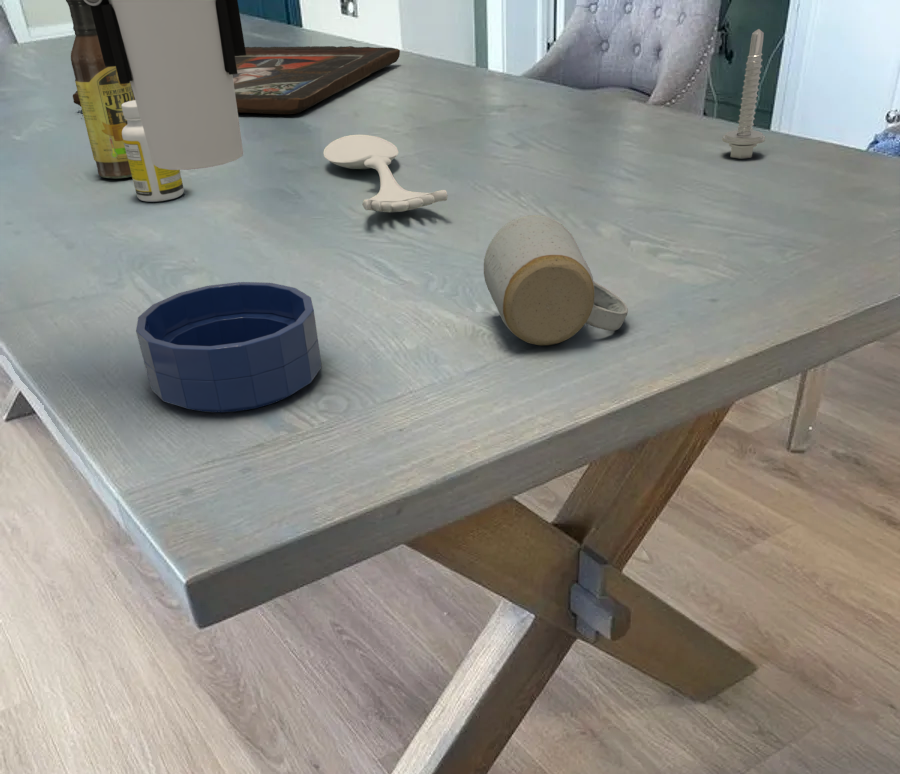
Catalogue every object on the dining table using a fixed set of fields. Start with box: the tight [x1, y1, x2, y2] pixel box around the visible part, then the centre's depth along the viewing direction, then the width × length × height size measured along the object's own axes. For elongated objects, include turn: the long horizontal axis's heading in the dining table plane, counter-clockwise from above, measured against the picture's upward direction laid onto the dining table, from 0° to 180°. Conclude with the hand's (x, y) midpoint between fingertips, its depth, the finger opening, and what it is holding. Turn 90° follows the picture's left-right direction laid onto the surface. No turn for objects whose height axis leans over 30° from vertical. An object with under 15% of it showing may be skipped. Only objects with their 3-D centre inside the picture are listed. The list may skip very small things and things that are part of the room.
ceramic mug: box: [483, 214, 629, 346], centre depth 71 cm, size 11×8×8 cm
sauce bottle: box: [65, 0, 134, 179], centre depth 111 cm, size 6×6×20 cm
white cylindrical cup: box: [109, 0, 244, 171], centre depth 57 cm, size 7×7×10 cm
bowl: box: [135, 281, 323, 413], centre depth 67 cm, size 12×12×5 cm
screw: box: [721, 28, 766, 160], centre depth 107 cm, size 13×5×5 cm
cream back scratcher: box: [323, 134, 449, 213], centre depth 106 cm, size 9×32×4 cm, turn 15°
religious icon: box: [72, 45, 401, 115], centre depth 159 cm, size 40×45×3 cm
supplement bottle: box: [121, 100, 185, 203], centre depth 106 cm, size 5×5×10 cm
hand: (179, 72), depth 57 cm, fingers closed on white cylindrical cup, 5 cm apart
